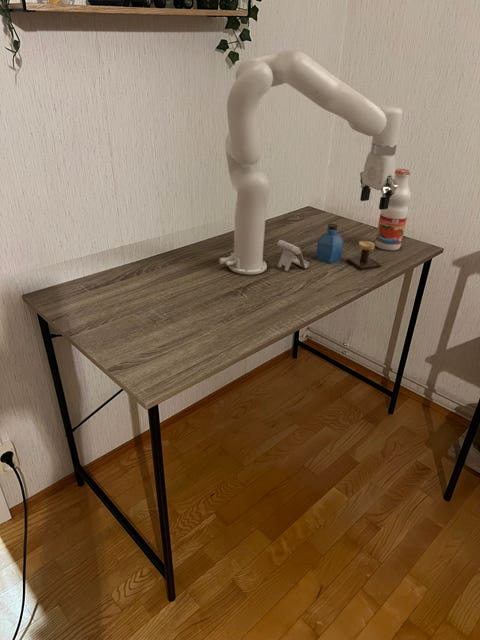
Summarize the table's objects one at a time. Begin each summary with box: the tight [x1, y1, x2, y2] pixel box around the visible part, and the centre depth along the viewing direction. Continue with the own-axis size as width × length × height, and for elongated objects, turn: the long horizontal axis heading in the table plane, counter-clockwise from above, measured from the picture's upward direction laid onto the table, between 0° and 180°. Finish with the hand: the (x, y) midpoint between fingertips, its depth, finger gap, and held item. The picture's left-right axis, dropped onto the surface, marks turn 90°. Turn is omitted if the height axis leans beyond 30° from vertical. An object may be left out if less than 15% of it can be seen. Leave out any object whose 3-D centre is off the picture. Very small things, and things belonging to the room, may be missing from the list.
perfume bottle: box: [315, 223, 344, 264], centre depth 168 cm, size 6×6×12 cm
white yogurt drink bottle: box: [374, 168, 412, 251], centre depth 177 cm, size 9×9×28 cm
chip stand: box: [346, 249, 381, 271], centre depth 167 cm, size 8×8×6 cm
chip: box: [357, 240, 376, 251], centre depth 165 cm, size 5×5×1 cm
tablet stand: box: [277, 239, 310, 272], centre depth 162 cm, size 9×8×8 cm
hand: (373, 204), depth 160 cm, fingers open, 9 cm apart
